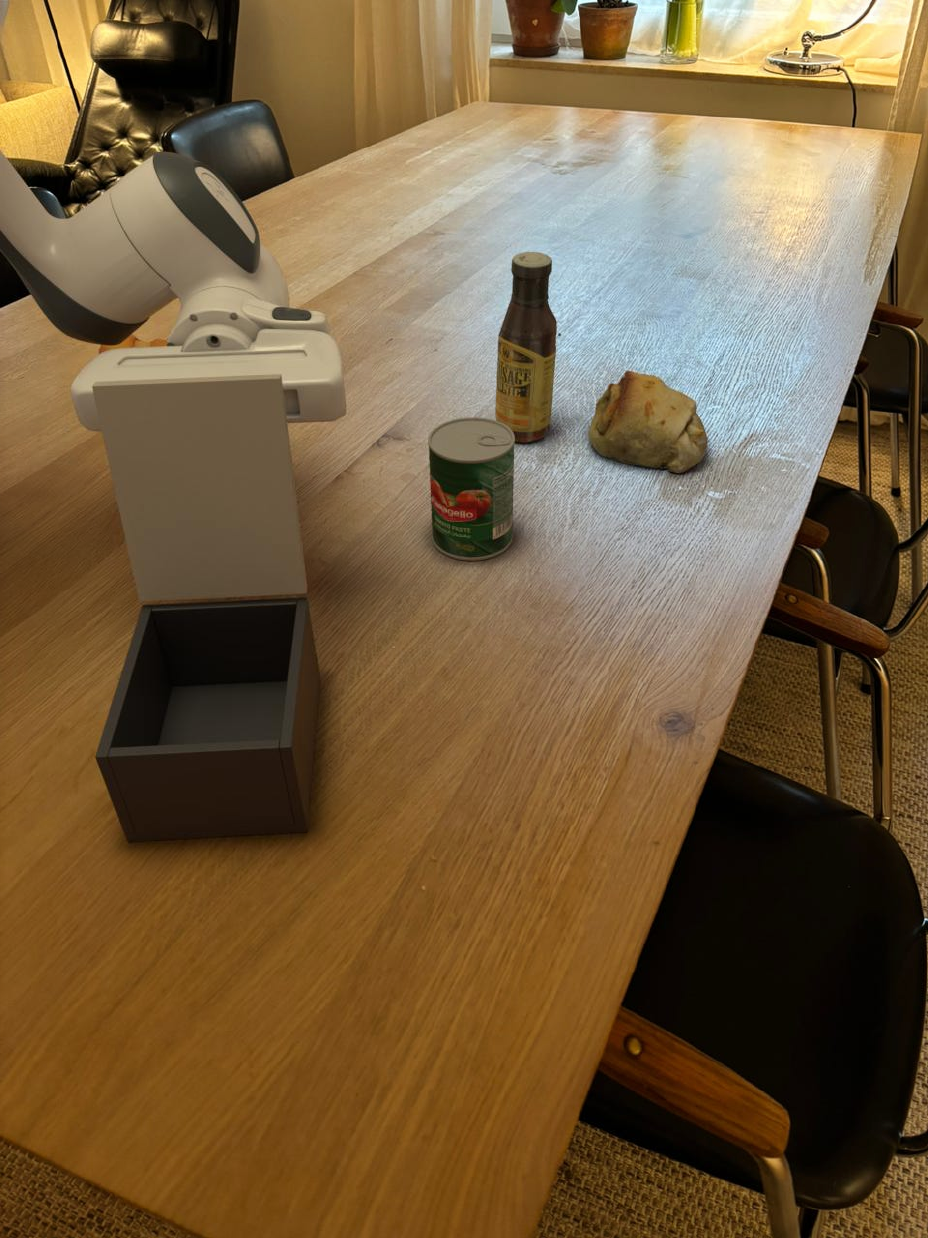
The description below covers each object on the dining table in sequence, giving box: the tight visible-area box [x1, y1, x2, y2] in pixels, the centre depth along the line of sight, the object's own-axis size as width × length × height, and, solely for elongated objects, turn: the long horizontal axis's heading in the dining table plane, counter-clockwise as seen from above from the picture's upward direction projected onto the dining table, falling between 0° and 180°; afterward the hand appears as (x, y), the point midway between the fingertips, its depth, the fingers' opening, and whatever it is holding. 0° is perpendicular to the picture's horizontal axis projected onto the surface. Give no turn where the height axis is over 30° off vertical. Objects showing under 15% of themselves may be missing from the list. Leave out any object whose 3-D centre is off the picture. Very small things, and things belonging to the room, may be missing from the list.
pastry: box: [588, 370, 708, 474], centre depth 107 cm, size 14×12×8 cm
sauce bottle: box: [494, 251, 558, 444], centre depth 106 cm, size 6×6×20 cm
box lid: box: [92, 374, 308, 603], centre depth 71 cm, size 17×13×1 cm
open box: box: [94, 596, 321, 843], centre depth 73 cm, size 16×13×9 cm
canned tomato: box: [427, 416, 516, 562], centre depth 93 cm, size 8×8×11 cm
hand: (199, 438), depth 70 cm, fingers closed, pressing on box lid
